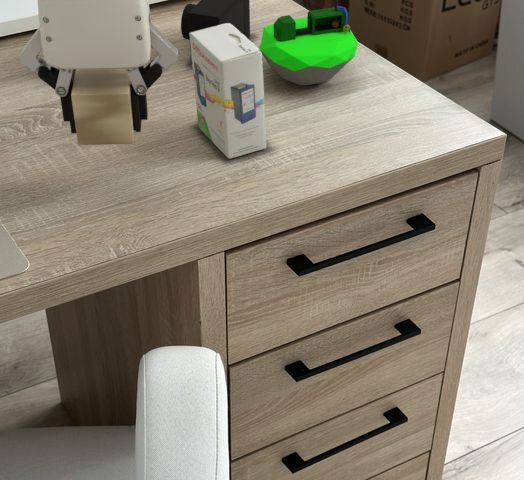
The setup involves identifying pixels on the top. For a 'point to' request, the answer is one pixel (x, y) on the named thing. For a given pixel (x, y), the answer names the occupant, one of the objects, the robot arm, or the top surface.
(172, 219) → the top surface
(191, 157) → the top surface
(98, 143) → the toy block
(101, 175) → the top surface
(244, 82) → the ink box
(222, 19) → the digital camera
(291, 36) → the toy floating island
